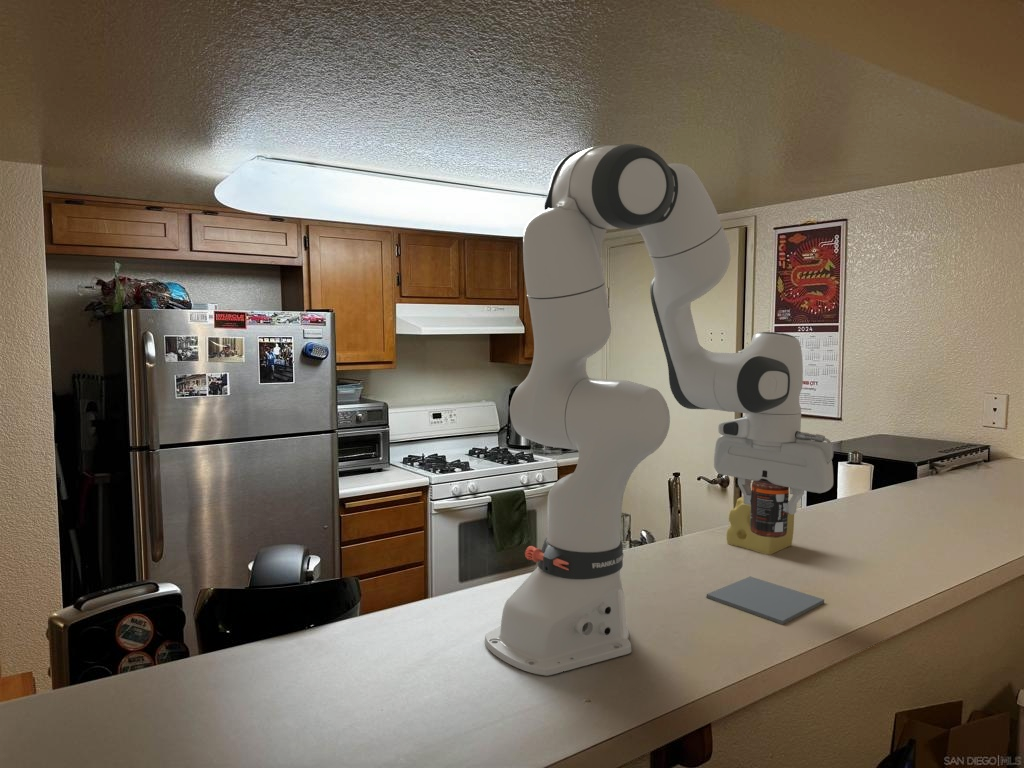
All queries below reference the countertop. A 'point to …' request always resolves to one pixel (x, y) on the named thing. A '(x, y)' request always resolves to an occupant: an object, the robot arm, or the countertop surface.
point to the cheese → (747, 539)
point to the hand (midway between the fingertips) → (769, 508)
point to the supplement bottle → (768, 508)
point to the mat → (766, 599)
